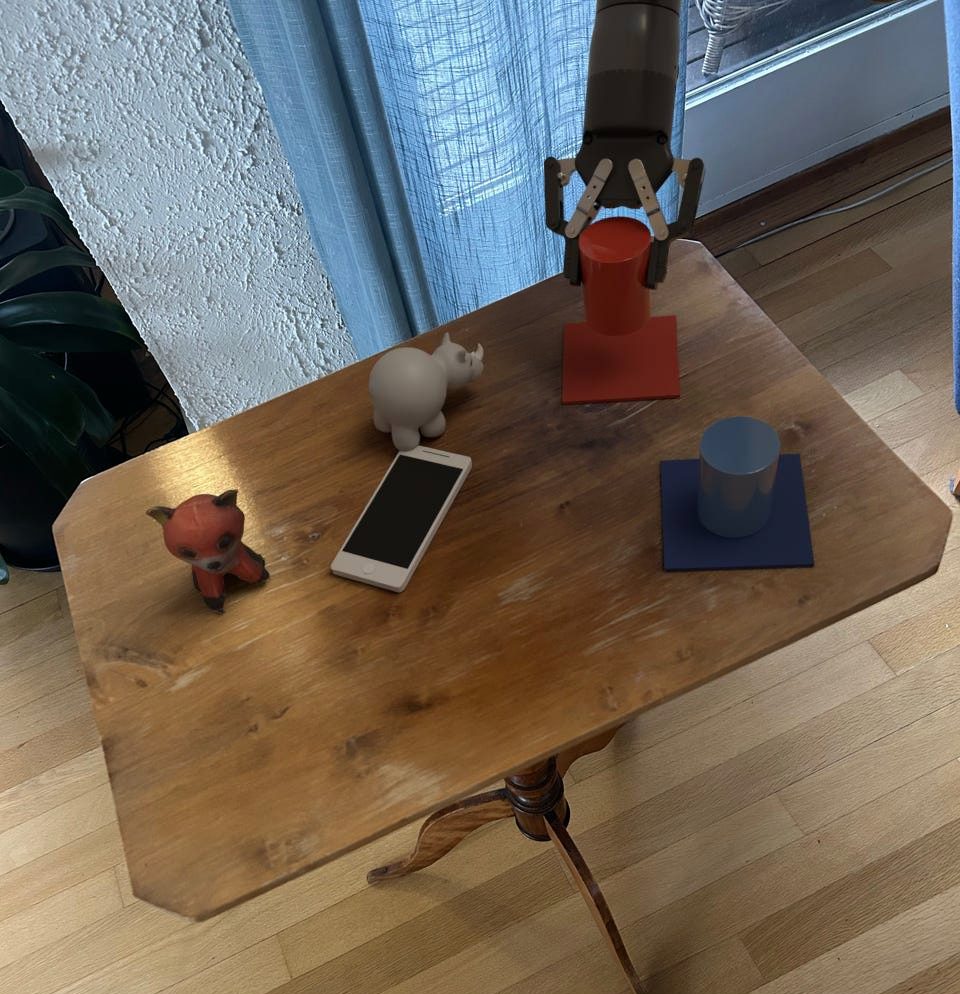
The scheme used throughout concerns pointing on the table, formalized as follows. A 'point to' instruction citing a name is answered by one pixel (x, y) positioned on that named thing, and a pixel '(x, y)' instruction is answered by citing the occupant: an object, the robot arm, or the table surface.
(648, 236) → the red cylinder
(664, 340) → the red mat
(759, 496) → the grey-blue cylinder
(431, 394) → the toy rhinoceros
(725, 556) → the blue mat
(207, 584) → the stuffed fox
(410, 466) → the smartphone
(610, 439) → the table surface
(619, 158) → the robot arm
